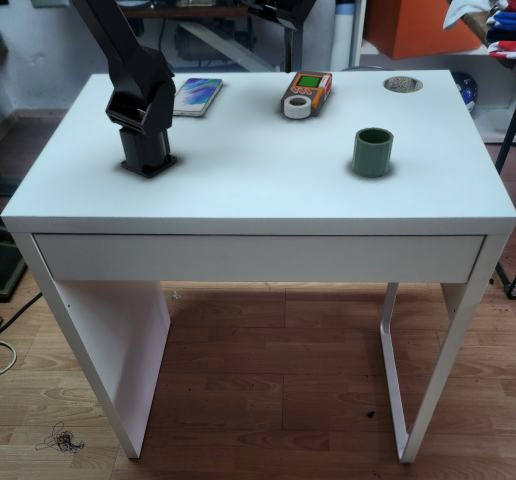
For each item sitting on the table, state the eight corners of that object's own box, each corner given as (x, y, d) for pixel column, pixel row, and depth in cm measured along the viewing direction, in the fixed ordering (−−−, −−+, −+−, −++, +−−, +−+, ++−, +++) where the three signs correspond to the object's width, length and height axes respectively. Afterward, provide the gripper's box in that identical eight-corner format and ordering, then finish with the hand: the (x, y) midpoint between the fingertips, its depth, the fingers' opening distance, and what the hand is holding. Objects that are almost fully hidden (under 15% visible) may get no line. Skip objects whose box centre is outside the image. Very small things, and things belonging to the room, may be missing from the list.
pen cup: (377, 181, 74) (382, 148, 70) (345, 170, 76) (348, 138, 72) (394, 165, 76) (400, 133, 73) (362, 155, 79) (367, 124, 75)
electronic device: (276, 104, 86) (298, 67, 95) (276, 121, 89) (298, 83, 97) (315, 108, 85) (333, 70, 94) (314, 125, 87) (332, 86, 96)
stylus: (292, 74, 90) (294, -20, 80) (284, 75, 90) (285, -19, 80) (291, 71, 91) (292, -22, 81) (283, 72, 91) (283, -21, 81)
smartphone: (163, 110, 90) (188, 77, 99) (164, 115, 90) (189, 82, 100) (201, 112, 88) (223, 78, 98) (202, 117, 89) (224, 83, 99)
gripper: (314, -90, 67) (361, -8, 79) (229, -104, 76) (284, -29, 89) (269, -7, 69) (322, 59, 82) (193, -31, 79) (251, 32, 92)
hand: (294, 27), depth 86 cm, fingers closed on stylus, 1 cm apart
